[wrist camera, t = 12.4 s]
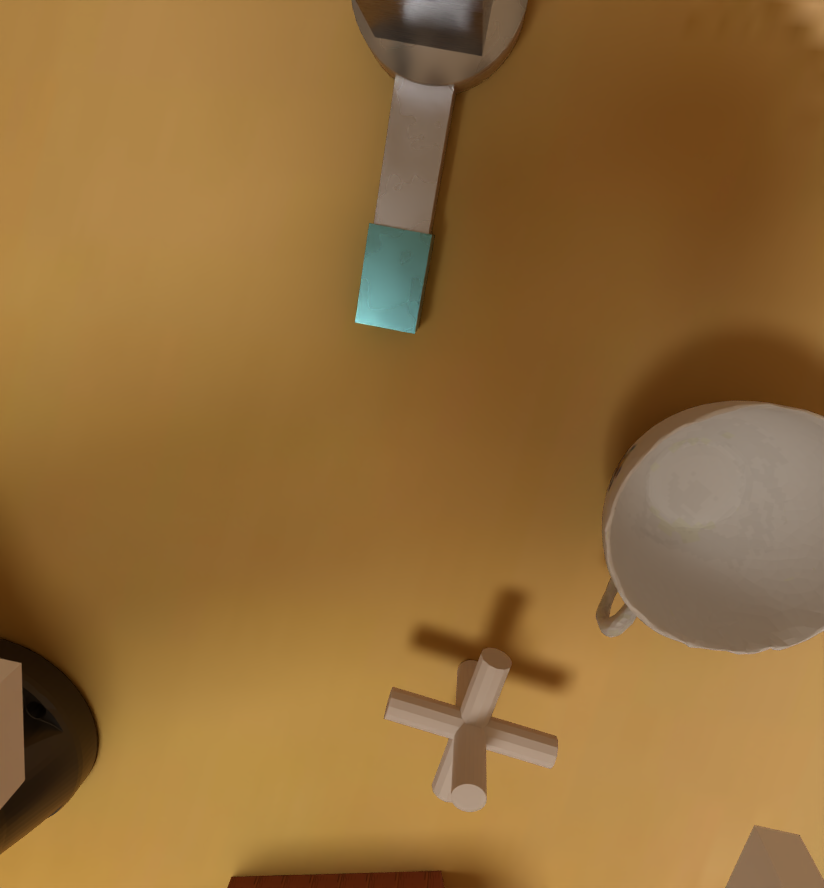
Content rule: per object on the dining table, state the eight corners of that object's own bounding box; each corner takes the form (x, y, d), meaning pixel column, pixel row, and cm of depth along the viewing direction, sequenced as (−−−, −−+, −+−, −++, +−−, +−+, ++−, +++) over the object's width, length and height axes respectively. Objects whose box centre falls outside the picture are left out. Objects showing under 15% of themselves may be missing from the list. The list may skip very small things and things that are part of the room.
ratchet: (320, 309, 36) (283, 325, 29) (373, -112, 29) (342, -215, 23) (460, 336, 35) (456, 358, 29) (544, -85, 29) (563, -181, 22)
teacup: (701, 321, 34) (765, 345, 26) (859, 470, 35) (963, 533, 28) (507, 512, 38) (513, 580, 31) (655, 637, 40) (696, 730, 32)
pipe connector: (419, 586, 40) (400, 693, 31) (570, 631, 40) (597, 752, 31) (380, 708, 44) (352, 838, 34) (519, 750, 43) (530, 893, 34)
